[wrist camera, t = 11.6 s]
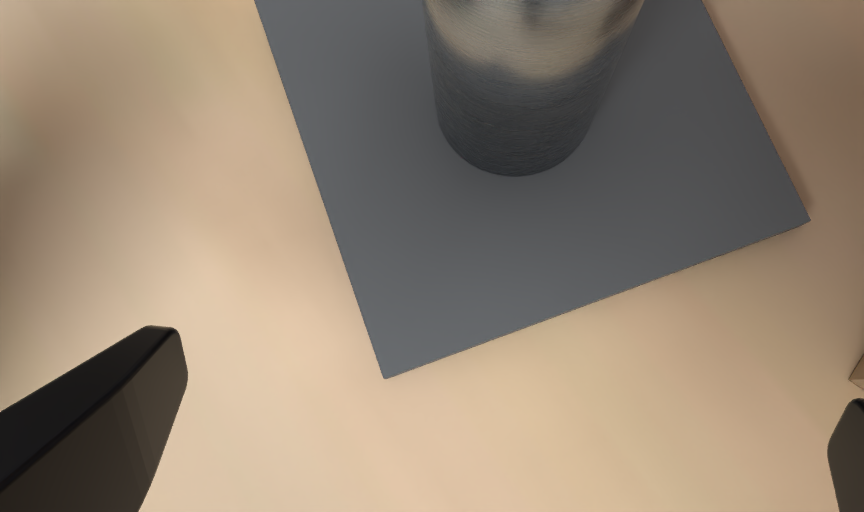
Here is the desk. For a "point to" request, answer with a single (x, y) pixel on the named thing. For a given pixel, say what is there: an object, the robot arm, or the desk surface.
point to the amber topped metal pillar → (522, 75)
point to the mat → (520, 196)
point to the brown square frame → (858, 374)
